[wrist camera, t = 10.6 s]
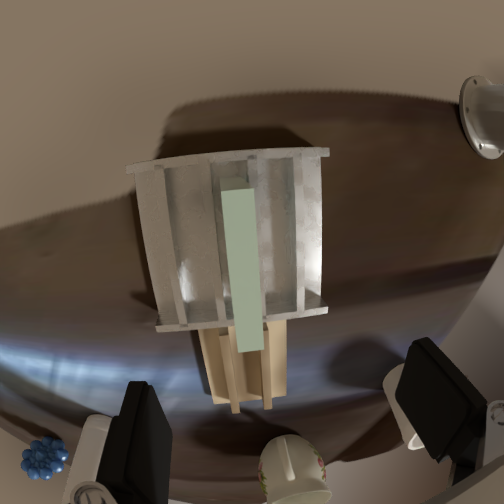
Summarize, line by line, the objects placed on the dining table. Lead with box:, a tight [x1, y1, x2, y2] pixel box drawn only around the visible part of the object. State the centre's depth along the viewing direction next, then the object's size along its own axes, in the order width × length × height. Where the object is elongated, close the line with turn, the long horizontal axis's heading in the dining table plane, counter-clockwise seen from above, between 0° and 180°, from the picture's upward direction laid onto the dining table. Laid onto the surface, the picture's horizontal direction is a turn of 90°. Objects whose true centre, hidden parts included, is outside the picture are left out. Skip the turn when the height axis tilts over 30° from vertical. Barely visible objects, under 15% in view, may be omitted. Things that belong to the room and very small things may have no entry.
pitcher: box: [258, 434, 332, 504], centre depth 37 cm, size 11×18×14 cm, turn 14°
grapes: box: [21, 436, 69, 480], centre depth 34 cm, size 12×7×12 cm, turn 95°
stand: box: [198, 320, 286, 414], centre depth 34 cm, size 10×14×4 cm
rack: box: [126, 147, 329, 332], centre depth 28 cm, size 18×17×4 cm
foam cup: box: [383, 363, 424, 450], centre depth 35 cm, size 10×9×13 cm
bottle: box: [61, 414, 112, 504], centre depth 24 cm, size 8×8×30 cm
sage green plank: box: [219, 176, 264, 353], centre depth 24 cm, size 2×12×10 cm, turn 4°
